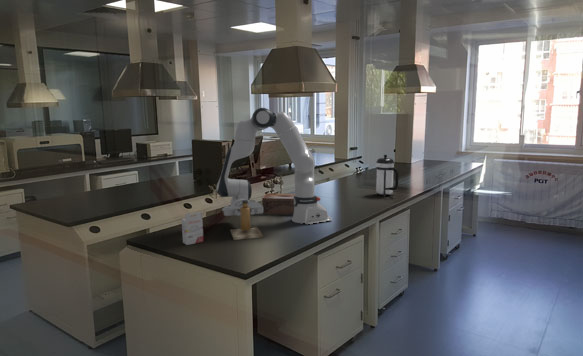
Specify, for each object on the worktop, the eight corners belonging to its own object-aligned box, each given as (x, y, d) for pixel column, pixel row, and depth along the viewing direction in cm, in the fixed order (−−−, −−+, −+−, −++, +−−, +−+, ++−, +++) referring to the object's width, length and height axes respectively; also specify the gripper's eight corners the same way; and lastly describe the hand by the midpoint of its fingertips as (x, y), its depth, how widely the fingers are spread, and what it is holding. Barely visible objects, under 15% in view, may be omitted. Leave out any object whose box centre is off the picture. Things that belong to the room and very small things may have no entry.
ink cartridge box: (199, 239, 194) (198, 209, 191) (203, 241, 190) (202, 211, 187) (182, 242, 189) (180, 212, 186) (186, 245, 185) (184, 214, 182)
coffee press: (372, 196, 291) (373, 155, 286) (374, 192, 306) (376, 153, 301) (397, 197, 286) (399, 156, 281) (398, 193, 301) (399, 153, 296)
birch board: (257, 229, 209) (257, 227, 209) (262, 237, 196) (262, 234, 196) (230, 231, 206) (230, 229, 205) (233, 239, 192) (233, 237, 192)
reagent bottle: (249, 227, 203) (249, 199, 201) (251, 229, 199) (250, 201, 196) (240, 228, 202) (239, 199, 200) (241, 230, 197) (240, 201, 195)
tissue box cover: (262, 214, 242) (262, 198, 241) (266, 208, 256) (266, 193, 255) (305, 215, 240) (305, 198, 238) (306, 209, 254) (306, 194, 252)
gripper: (221, 202, 208) (224, 208, 195) (260, 200, 214) (265, 206, 200) (221, 214, 209) (224, 221, 196) (260, 212, 215) (265, 218, 201)
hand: (245, 213), depth 198 cm, fingers closed on reagent bottle, 5 cm apart
